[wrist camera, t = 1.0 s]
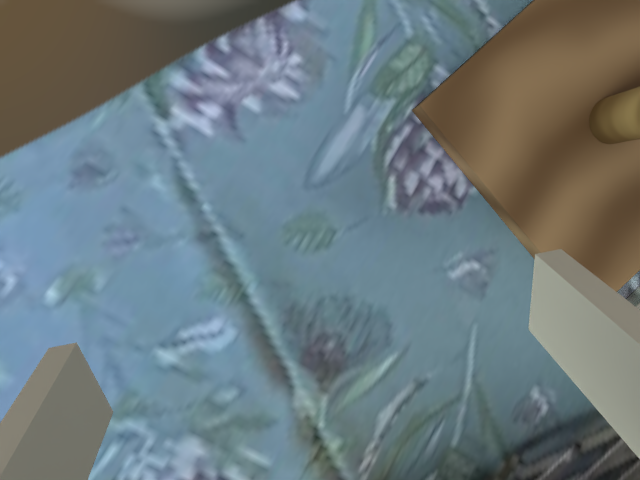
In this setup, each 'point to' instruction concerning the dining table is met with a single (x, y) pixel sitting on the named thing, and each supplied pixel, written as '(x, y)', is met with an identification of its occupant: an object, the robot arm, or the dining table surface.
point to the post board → (554, 130)
